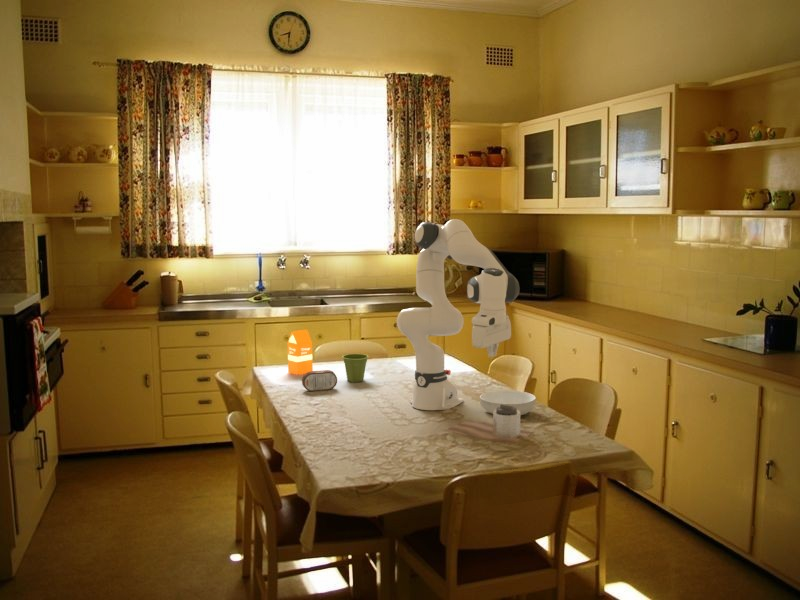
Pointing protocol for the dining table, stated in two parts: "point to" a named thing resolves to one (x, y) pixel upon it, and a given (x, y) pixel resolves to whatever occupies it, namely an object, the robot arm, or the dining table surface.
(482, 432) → the walnut board
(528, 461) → the dining table surface
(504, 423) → the white cylinder
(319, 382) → the tin
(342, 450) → the dining table surface
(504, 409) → the control knob
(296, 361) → the orange juice
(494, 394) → the serving bowl
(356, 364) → the plant pot
